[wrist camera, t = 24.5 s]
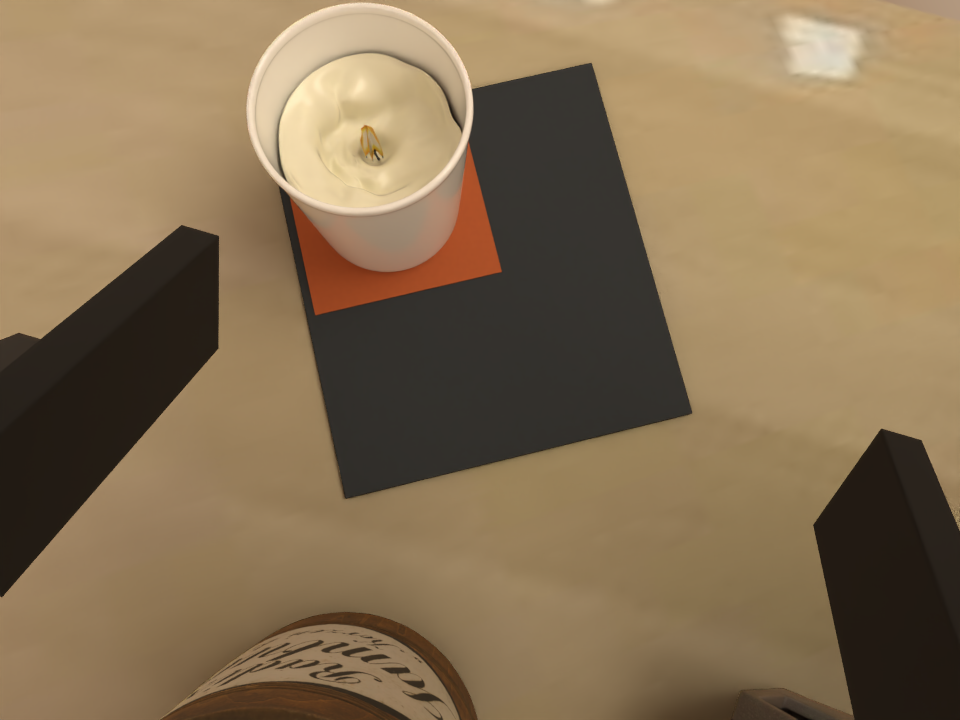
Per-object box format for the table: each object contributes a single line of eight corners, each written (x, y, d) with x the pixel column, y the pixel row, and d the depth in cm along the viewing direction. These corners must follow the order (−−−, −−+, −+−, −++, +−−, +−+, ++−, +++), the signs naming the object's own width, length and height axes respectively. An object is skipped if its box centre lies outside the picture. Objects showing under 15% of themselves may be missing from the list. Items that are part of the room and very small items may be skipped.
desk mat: (590, 65, 47) (591, 61, 46) (691, 413, 43) (693, 413, 43) (269, 136, 46) (267, 133, 45) (346, 498, 42) (345, 498, 42)
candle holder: (435, 103, 46) (424, -30, 34) (497, 250, 44) (508, 165, 33) (281, 160, 45) (214, 45, 33) (339, 311, 44) (290, 247, 32)
